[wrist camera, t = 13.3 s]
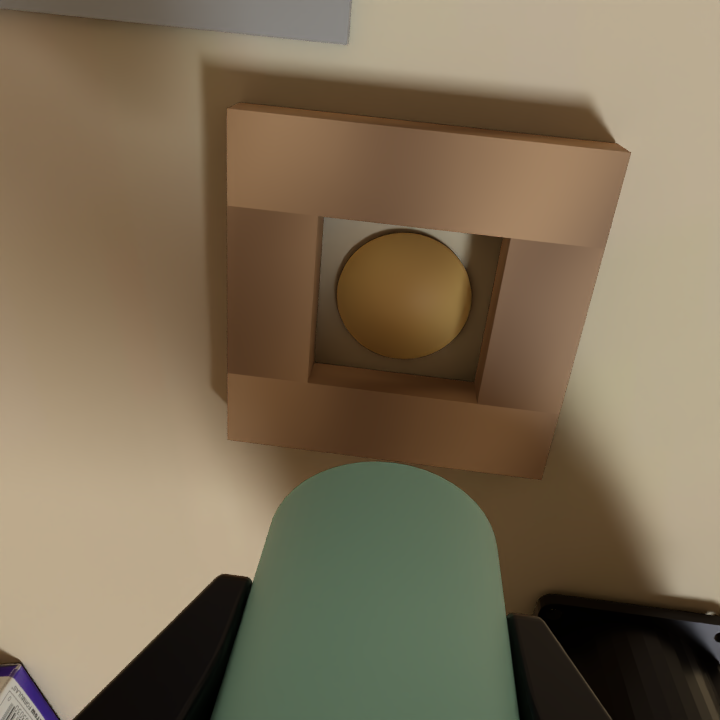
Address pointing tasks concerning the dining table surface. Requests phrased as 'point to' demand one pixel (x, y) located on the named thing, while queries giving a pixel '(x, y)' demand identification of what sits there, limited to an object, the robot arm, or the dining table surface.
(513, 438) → the brown square frame
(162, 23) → the card
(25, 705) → the supplement box
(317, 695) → the peg
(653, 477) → the dining table surface
